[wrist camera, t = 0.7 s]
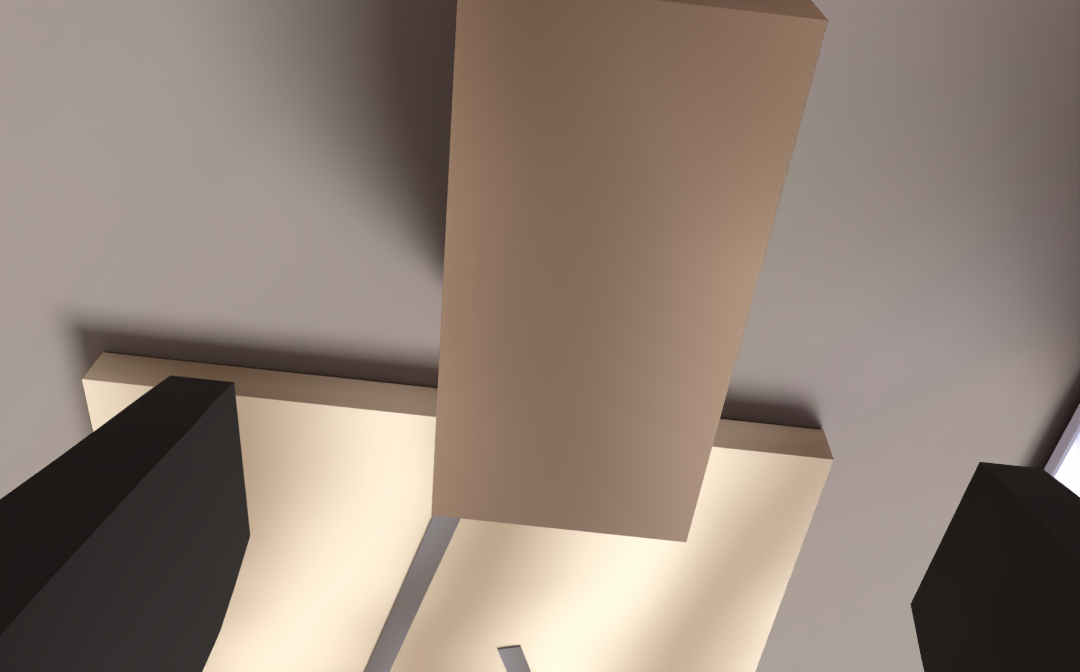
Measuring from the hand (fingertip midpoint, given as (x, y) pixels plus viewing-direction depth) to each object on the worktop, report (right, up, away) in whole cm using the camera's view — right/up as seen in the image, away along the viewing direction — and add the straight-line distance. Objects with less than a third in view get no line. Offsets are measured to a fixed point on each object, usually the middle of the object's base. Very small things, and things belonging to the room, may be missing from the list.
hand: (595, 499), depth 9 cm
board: (-3, -7, +16) cm, 18 cm away
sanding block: (0, +5, +8) cm, 10 cm away
